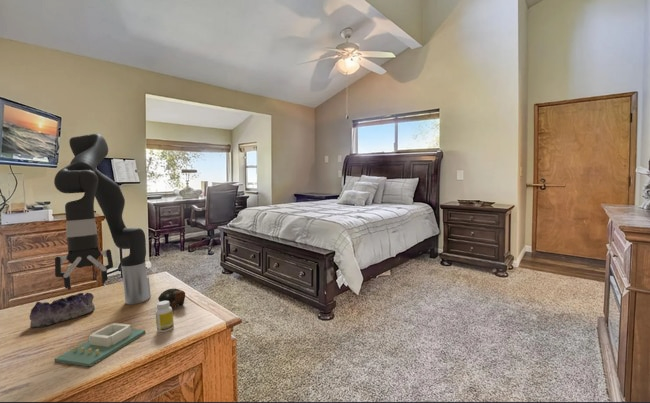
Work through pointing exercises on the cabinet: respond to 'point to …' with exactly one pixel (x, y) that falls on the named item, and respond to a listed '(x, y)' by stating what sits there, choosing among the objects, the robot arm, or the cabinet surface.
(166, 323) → the supplement bottle
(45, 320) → the geode
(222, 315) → the cabinet surface
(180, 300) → the decorative turtle
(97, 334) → the header board
